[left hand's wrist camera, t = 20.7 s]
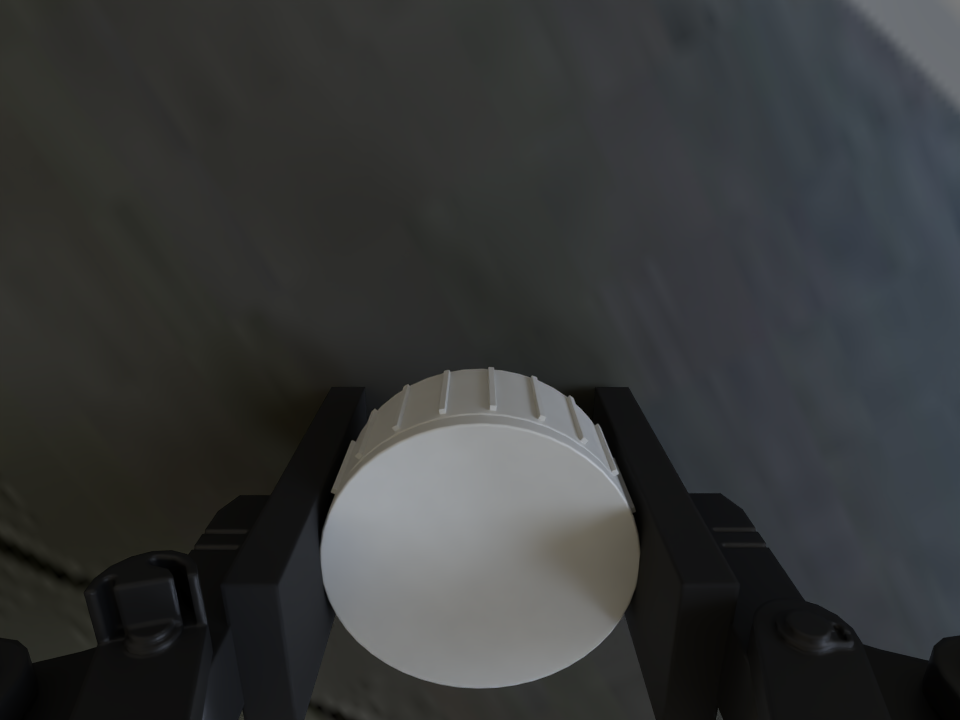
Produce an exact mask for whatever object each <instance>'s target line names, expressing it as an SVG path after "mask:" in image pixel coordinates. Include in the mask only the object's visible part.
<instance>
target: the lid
mask: <svg viewBox="0 0 960 720" xmlns="http://www.w3.org/2000/svg"><path fill="white" fill-rule="evenodd" d="M331 493H333V494H335V495H334V498H333V501H332V503H331V506H330V508H329V511H328V514H327V517H326V520H325V523H324V526H323V529H322V535H321V541H320V561H321V570H322V579H323V585H324V588H325V591H326V594H327V597H328V600H329V602H330V604H331V606H332V608H333V610H334V612H335V614H336V615H337V617H338V618H339V620H340V621H341V623H342V624H343V625H344V627H345V628H346V630H347V631H348V632H349V633H350V634H351V635H352V636H353V637H354V638H355V639H356V641H357V642H358V643H360V644H361V645H362V646H363V647H364V648H365V649H367V650H368V651H369V652H370V653H371V654H373V655H374V656H376V657H377V658H379V659H380V660H382V661H383V662H385V663H386V664H388V665H390V666H392V667H394V668H396V669H398V670H400V671H402V672H404V673H406V674H409V675H411V676H414V677H417V678H419V679H422V680H426V681H430V682H433V683H437V684H442V685H448V686H454V687H464V688H497V687H505V686H512V685H518V684H522V683H526V682H530V681H534V680H537V679H540V678H543V677H546V676H548V675H551V674H553V673H556V672H558V671H560V670H562V669H564V668H566V667H568V666H570V665H571V664H573V663H575V662H576V661H578V660H579V659H581V658H583V657H584V656H585V655H587V654H588V653H589V652H591V651H592V650H593V649H594V648H596V647H597V646H598V645H599V644H600V643H601V642H602V641H603V640H604V639H605V638H606V637H607V636H608V635H609V634H610V633H611V632H612V630H613V629H614V628H615V626H616V625H617V624H618V622H619V621H620V620H621V618H622V616H623V615H624V613H625V611H626V609H627V607H628V606H629V604H630V601H631V599H632V596H633V593H634V591H635V588H636V584H637V578H638V570H639V560H640V542H639V534H638V530H637V526H636V523H635V519H634V516H633V513H634V512H636V510H635V507H634V504H633V502H632V499H631V497H630V495H629V492H628V490H627V487H626V485H625V482H624V480H623V477H622V475H621V472H620V470H619V467H618V465H617V463H616V460H615V458H613V457H612V455H611V452H610V450H609V447H608V445H607V442H606V440H605V437H604V435H603V432H602V430H601V427H600V426H599V424H596V425H594V424H593V422H592V421H591V420H590V419H589V417H588V416H587V415H586V414H585V413H584V412H583V411H582V409H581V408H579V407H578V406H577V405H576V404H575V401H574V398H573V397H571V396H570V395H569V396H568V397H566V396H565V395H563V394H562V393H560V392H559V391H557V390H556V389H554V388H553V387H551V386H549V385H546V384H544V383H542V382H540V381H538V380H537V377H535V376H531V378H530V377H527V376H524V375H521V374H517V373H512V372H507V371H502V370H494V367H488V369H467V370H459V371H453V372H450V370H446V371H444V373H443V374H439V375H436V376H433V377H429V378H427V379H424V380H422V381H420V382H417V383H415V384H413V385H411V386H409V384H407V385H405V386H404V387H403V390H402V391H401V392H399V393H398V394H396V395H395V396H393V397H392V398H391V399H390V400H388V401H387V402H386V403H385V404H383V405H382V406H381V407H380V408H379V409H378V410H376V409H374V410H373V411H372V412H371V414H370V417H369V420H368V422H367V424H366V425H365V426H364V428H363V429H362V431H361V433H360V434H359V436H358V438H357V440H356V442H355V441H353V440H352V441H351V443H350V445H349V448H348V450H347V453H346V455H345V458H344V460H343V463H342V465H341V468H340V470H339V473H338V475H337V478H336V480H335V483H334V485H333V487H332V490H331Z"/></svg>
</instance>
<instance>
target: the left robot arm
mask: <svg viewBox="0 0 960 720" xmlns="http://www.w3.org/2000/svg"><path fill="white" fill-rule="evenodd" d="M366 424H367V411H366V397H365V387H332V388H331V389H330V391H329V393H328V395H327V397H326V398H325V400H324V402H323V404H322V405H321V407H320V409H319V411H318V412H317V414H316V416H315V418H314V420H313V421H312V423H311V425H310V427H309V428H308V430H307V432H306V434H305V435H304V437H303V439H302V441H301V443H300V444H299V446H298V448H297V450H296V451H295V453H294V455H293V457H292V458H291V460H290V462H289V464H288V466H287V467H286V469H285V471H284V473H283V474H282V476H281V478H280V480H279V481H278V483H277V485H276V487H275V489H274V490H273V492H272V494H271V495H240V496H238V497H237V498H236V499H234V500H233V501H231V502H230V503H229V504H227V505H226V506H225V507H223V508H222V509H221V510H219V511H218V512H217V513H216V515H215V516H214V518H213V519H212V521H211V522H210V524H209V525H208V527H207V528H206V530H205V534H202V536H201V537H200V538H199V540H198V541H197V543H196V544H195V548H194V550H191V552H190V553H189V555H187V554H184V553H180V552H176V551H172V550H169V551H151V552H148V553H144V554H140V555H136V556H132V557H129V558H127V559H125V560H123V561H121V562H119V563H117V564H114V565H112V566H110V567H109V568H108V569H106V570H105V571H104V572H102V573H101V574H100V575H98V576H97V577H96V578H94V579H93V581H92V582H91V584H90V585H89V586H88V588H87V589H86V590H85V592H84V596H85V599H86V603H87V606H88V610H89V614H90V617H91V621H92V625H93V628H94V632H95V635H96V639H97V643H98V645H97V647H95V648H92V649H89V650H85V651H82V652H78V653H74V654H70V655H65V656H61V657H57V658H53V659H48V660H44V661H40V662H36V663H32V662H31V659H30V656H29V653H28V650H27V648H26V647H25V646H23V645H22V644H21V643H20V642H19V641H18V640H11V639H4V638H0V720H238V719H239V716H240V714H241V711H242V709H243V715H244V720H304V719H305V715H306V712H307V709H308V705H309V702H310V698H311V695H312V692H313V688H314V685H315V681H316V678H317V675H318V671H319V668H320V665H321V661H322V658H323V654H324V651H325V648H326V644H327V641H328V638H329V634H330V631H331V627H332V624H333V621H334V617H335V612H334V610H333V608H332V606H331V604H330V602H329V600H328V597H327V594H326V591H325V588H324V585H323V579H322V570H321V561H320V541H321V535H322V529H323V526H324V523H325V520H326V517H327V514H328V511H329V508H330V506H331V503H332V501H333V498H334V495H335V494H333V493H331V490H332V487H333V485H334V483H335V480H336V478H337V475H338V473H339V470H340V468H341V465H342V463H343V460H344V458H345V455H346V453H347V450H348V448H349V445H350V443H351V441H352V440H353V441H355V442H356V440H357V438H358V436H359V434H360V433H361V431H362V429H363V428H364V426H365V425H366ZM593 424H594V425H596V424H599V426H600V427H601V430H602V432H603V435H604V437H605V440H606V442H607V445H608V447H609V450H610V452H611V455H612V457H613V458H615V460H616V463H617V465H618V467H619V470H620V472H621V475H622V477H623V480H624V482H625V485H626V487H627V490H628V492H629V495H630V497H631V499H632V502H633V504H634V507H635V510H636V512H634V513H633V516H634V519H635V523H636V526H637V530H638V534H639V542H640V560H639V570H638V578H637V584H636V588H635V591H634V593H633V596H632V599H631V601H630V604H629V606H628V607H627V609H626V611H625V613H624V614H625V617H626V620H627V624H628V627H629V630H630V634H631V637H632V641H633V644H634V647H635V651H636V654H637V657H638V661H639V664H640V668H641V671H642V674H643V678H644V681H645V684H646V688H647V691H648V695H649V698H650V701H651V705H652V708H653V711H654V715H655V718H656V720H716V716H717V710H718V708H719V710H720V713H721V715H722V718H723V720H960V636H953V637H946V638H943V639H942V640H940V641H939V642H938V643H937V644H936V645H935V646H934V647H933V650H932V653H931V656H930V659H929V661H927V660H923V659H919V658H914V657H910V656H906V655H902V654H897V653H893V652H889V651H884V650H880V649H877V648H874V647H870V646H867V645H864V644H862V642H861V641H860V639H859V637H858V636H857V634H856V633H855V631H854V630H853V628H852V627H850V626H849V625H848V624H847V623H846V622H845V621H843V620H842V619H841V618H840V617H839V616H837V615H836V614H834V613H832V612H830V611H828V610H826V609H824V608H823V607H821V606H819V605H816V604H813V603H809V602H806V601H805V600H804V599H803V597H802V596H801V594H800V593H799V591H798V590H797V588H796V587H795V585H794V584H793V582H792V581H791V580H790V578H789V577H788V575H787V574H786V572H785V571H784V569H783V568H782V566H781V565H780V563H779V562H778V561H777V559H776V558H775V556H774V555H773V553H772V552H771V550H770V549H769V548H766V543H765V541H764V540H763V539H762V537H761V536H760V534H759V533H758V532H756V531H755V527H754V525H753V524H752V522H751V521H750V520H749V518H748V517H747V515H746V514H745V512H744V511H743V509H741V508H740V507H739V506H737V505H736V504H734V503H733V502H732V501H730V500H729V499H727V498H726V497H725V496H723V495H722V494H721V493H688V492H687V490H686V488H685V487H684V485H683V483H682V481H681V479H680V478H679V476H678V474H677V472H676V471H675V469H674V467H673V465H672V464H671V462H670V460H669V458H668V456H667V455H666V453H665V451H664V449H663V448H662V446H661V444H660V442H659V441H658V439H657V437H656V435H655V433H654V432H653V430H652V428H651V426H650V425H649V423H648V421H647V419H646V418H645V416H644V414H643V412H642V410H641V409H640V407H639V405H638V403H637V402H636V400H635V398H634V396H633V395H632V393H631V391H630V389H629V388H628V387H595V398H594V412H593Z"/></svg>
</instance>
